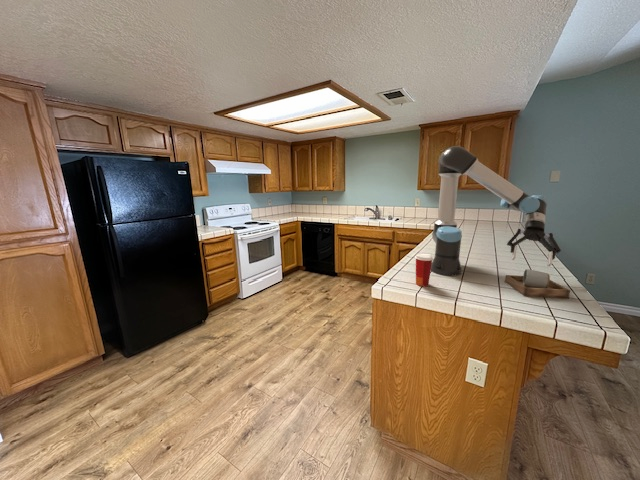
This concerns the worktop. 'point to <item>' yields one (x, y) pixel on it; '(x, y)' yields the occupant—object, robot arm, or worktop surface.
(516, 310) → the worktop surface
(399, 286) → the worktop surface
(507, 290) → the worktop surface
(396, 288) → the worktop surface
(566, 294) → the tray
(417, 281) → the paper cup
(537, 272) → the ceramic mug
